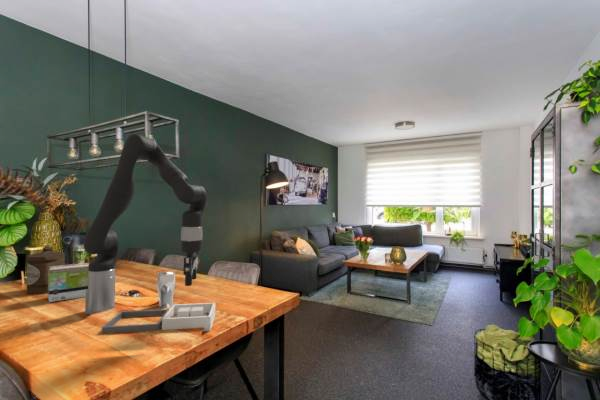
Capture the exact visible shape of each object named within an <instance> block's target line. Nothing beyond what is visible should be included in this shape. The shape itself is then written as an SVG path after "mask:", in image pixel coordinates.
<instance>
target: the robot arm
mask: <svg viewBox="0 0 600 400" xmlns="http://www.w3.org/2000/svg"><path fill="white" fill-rule="evenodd" d="M138 160H143V161H147V162H149V163H151V164H152V165H154V167H156V169H157V171H158V175H159V176H160V178H161V179H162V180H163V181H164V182H165V183H166V184H167V185H168V186H169V187H170V188H171V189H172V191H173V192H174V195H175V196H176V199H178V200H179V201H180V202H181V203H183V204H185V205H189V208H188V209H187V210H185V211H183V212H182V216H181V232H180V252H181V253H186V256H185V257H183V271H182V274H183V275H184V279H185V280H184V286H186V287H190V286H192V285H193V280H197V273H198V272H197V271H198V266H199V253H200V252H202V251H203V214H204V212H205V206H206V203H207V201H208V199H207V198H208V196H207V191H206V189H205V188H204V186H202V185H196V184H189V178H188V176H187V175H186V174H185V173H184V172H183V171H182V170H181V169H180V168H178V167H177V166H176V164H174V163H173V162H172V161H171V160H170V159H169V157H168V156H167V155H166V153H165V152H164V151H163V150H162V148H161V147H160V145H158V143H157V142H156V141H155V140H153V139H152V138H150V137H148V136H145V135H141V134H138V133H131V134H130V135H129V136H128V137H127V138H126V139H125V141H124V143H123V146H122V150H121V154H120V158H119V159H118V163H117V167H116V170H115V173H114V174H113V177H112V179H111V182H110V184H109V186H108V188H107V190H106V193H105V195H104V198H103V200H102V203H101V205H100V207H99V209H98V212H97V214H96V215H95V218H94V219H93V221H92V223H91V225H90V227H89V228H88V231H87V232H86V234H85V236H84V238H83V243H82V244H83V249H84V251H85V252H86V253H87V254H89V255H97V256H96V257H95V259H93V260H92V261H90V263H88V264H89V266H88V289H87V290H86V295H85V297H84V298H85V300H84V301H85V302H84V305H85V307H84V309H85V310H84V311H85V312H84V314H85V315H89V316H92V315H93V314H94V313H95V314H96V313H100V312H105V311H109V310H111V309H114V308H115V306H116V303H115V302H116V264H117V262H118V260H119V258H118V257H119V246H120V245H119V242H120V241H119V236H118V233H117V232H116V231H114V230H113V229H111V228H112V226H113V224H114V223H115V222H116V221H117V220H118V219H119V218H120V217H121V216H122V215H123V214H124V213H125V211H126V210H127V209H128V208H129V206H130V204H132V203H131V202H132V200H133V199H134V195H136V185H135V184H136V183H135V178H134V169H135V166H136V164H137V161H138Z"/></svg>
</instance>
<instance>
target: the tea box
mask: <svg viewBox="0 0 600 400" xmlns="http://www.w3.org/2000/svg"><path fill="white" fill-rule="evenodd" d="M88 266H89V263H88V262H84V263H83V262H81V263H72V264H71V263H70V264H65V265H60V266H50V267H49V276H48V293H47V299H48V303H53V302H59V301H60V302H61V301H64V300H73V299H80V298H85V295H86V290H87V289H88Z"/></svg>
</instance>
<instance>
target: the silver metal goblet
mask: <svg viewBox="0 0 600 400" xmlns="http://www.w3.org/2000/svg"><path fill="white" fill-rule="evenodd" d="M156 284H157V285H156V287H157V293H158V294H157V295H158V298H159V299H158V300H159V301H158V302H159V303H158V307H159V308H160V309H161V308H162V309H164V308H165V309H166V308H171V307H172V306H173V305H174V293H175V289H176V272H175V271H171V270H168V271H160V272H158V273H157V283H156Z"/></svg>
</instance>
